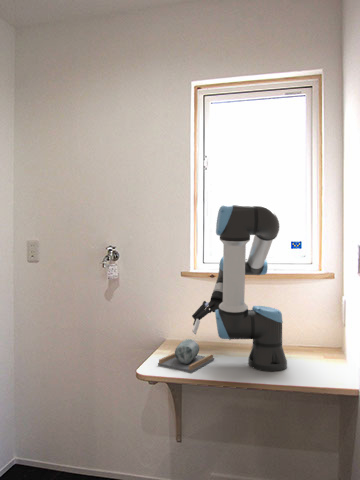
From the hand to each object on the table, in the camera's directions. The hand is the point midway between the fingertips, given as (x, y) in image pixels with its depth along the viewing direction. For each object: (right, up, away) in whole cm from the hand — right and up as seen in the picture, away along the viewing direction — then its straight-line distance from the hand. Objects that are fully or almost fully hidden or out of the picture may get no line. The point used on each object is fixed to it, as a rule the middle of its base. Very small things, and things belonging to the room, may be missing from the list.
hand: (207, 334), depth 170 cm
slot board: (-9, -8, -13) cm, 18 cm away
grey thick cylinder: (-9, -8, -13) cm, 18 cm away
